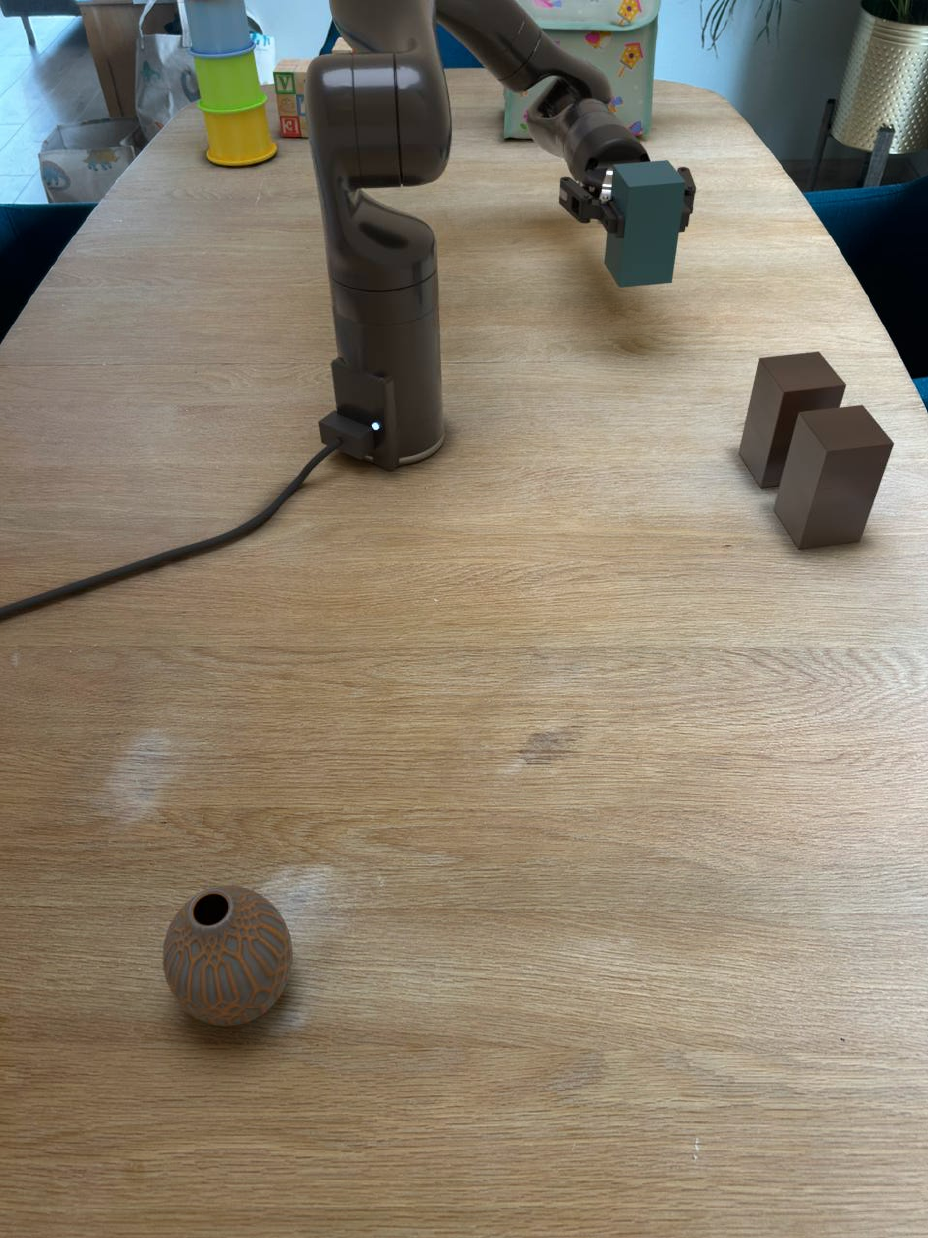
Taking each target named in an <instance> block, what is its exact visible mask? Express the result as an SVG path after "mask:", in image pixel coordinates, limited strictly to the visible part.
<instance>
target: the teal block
mask: <svg viewBox="0 0 928 1238" xmlns="http://www.w3.org/2000/svg"><path fill="white" fill-rule="evenodd" d="M650 161H651V160H650ZM685 184H686V182H685V180H684V179H683V178H682V177H681V176H680V174H679V173H678V172H677V169H676V168H675V167H674V165H672V163H671V162H670V161H669V160H668V159H665V160H652V161H651V162H639V163H627V164H615V165H613V172H612V183H611V195H612V201H615V202H616V204H617V205H618V207H619V208H620V210H621V211H622V212H623V214H624V216H625V227H624V236H623V238H615V236H614V235H613V234H610V233H608V232H607V231H606V240H605V241H606V242H605V254H604V266H605V267H606V269H607V270H608V272H609V274H610V275H611V277H612V279H613V280H614V282H615V284H616V286H617V287H618V288H619V289H623V288H635V287H643V286H644V287H645V286H655V285H664V284H673V277H674V270H675V264H676V256H677V249H678V241H679V235H680V233H679V228H680V220H681V213H682V206H683V199H684V192H685Z"/></svg>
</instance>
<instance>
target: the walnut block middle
mask: <svg viewBox="0 0 928 1238" xmlns="http://www.w3.org/2000/svg"><path fill="white" fill-rule="evenodd" d="M846 388H847V384H846V383H845V381H844V380H843V379H842V378H841V376H840V375H839V374H838V373H837V372H836V370H835V369H834V368H833V366H832V365H831V364H830V362H828V361H827V359H826V358H825V357H824V355H823V354H822V353H821V352H820V351H810V352H809V351H808V352H801V353H800V352H799V353H792V354H783V355H774V356H773V355H772V356H764V357H759V358H758V361H757V365H756V371H755V375H754V380H753V385H752V389H751V394H750V399H749V403H748V408H747V412H746V417H745V420H744V421H745V422H744V425H743V430H742V435H741V439H740V444H739V449H738V454H739V456H740V458H741V459H742V461H743V463H744V464H745V466H746V467H747V468H748V470H749V472H750V473H751V475H752V477H753V478H754V480H755V482H756V483H757V485H758V486H759V488H760V489H763V488H772V487H779V486H780V482H781V479H782V475H783V471H784V467H785V463H786V459H787V456H788V452H789V448H790V444H791V440H792V436H793V433H794V429H795V425H796V421H797V417H798V413H799V412H804V411H813V410H822V409H831V408H839V407H841V404H842V401H843V398H844V395H845V390H846Z"/></svg>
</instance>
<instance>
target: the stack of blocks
mask: <svg viewBox="0 0 928 1238" xmlns="http://www.w3.org/2000/svg"><path fill="white" fill-rule="evenodd" d="M340 53H355V52H354V51H353V50H352V48H351V47H350V46H349V45H348V44H347V43H346V42H345V41H344V39H343V38H342V36H339V37H338V38H337V39H336V41H335V43H334V46H333V47H332V49H331V54H340ZM313 59H314V58H281V59H280V60H279V62H278V63H277V65H276V66H275V68H274V69H273V70H272V78H273V84H274V85H273V86H274V92H275V95H276V105H277V113H278V116H279V117H278V118H279V119H278V120H279V126H280V127H279V128H280V133H281V134H280V135H281V137H289V138H290V137H291V138H293V137H294V138H297V137H299V138H308V131H307V124H306V117H305V103H304V83H305V77H306V72H307V69H308V66H309V65H310V63H311V61H312V60H313Z"/></svg>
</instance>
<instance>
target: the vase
mask: <svg viewBox="0 0 928 1238" xmlns="http://www.w3.org/2000/svg"><path fill="white" fill-rule="evenodd" d="M162 948H163V949H162V968H163V973H164V978H165V980H166V983H167V985H168V988H169V990H170V992H171V994H172V995H173V997H174V999H175V1000H176V1001H177V1003H178V1005H180V1006H181V1008H182V1009H183V1010H184V1011H186V1013H188V1014H189V1015H191V1016H192V1017H194V1018H196V1019H197V1020H199V1021H201V1022H203V1023H207V1024H210V1025H214V1026H219V1027H231V1026H232V1027H233V1026H239V1025H243V1024H246V1023H249V1022H252V1021H254V1020H256V1019H257V1018H259V1017H262V1015H264V1014H265V1013H267V1011H269V1010H270V1009H271V1008H272V1007H273V1006H274V1005H275V1004H276V1003H277V1001H278V1000H279V998H280V997H281V996H282V994H283V992H284V991H285V989H286V986H287V984H288V981H289V979H290V976H291V972H292V966H293V959H294V958H293V956H294V954H293V944H292V939H291V934H290V931H289V928H288V926H287V922H286V920H285V919H284V917H283V915H282V914H281V912H280V911H279V909H278V908H277V907H276V906H275V905H274V904H273V903H272V902H271V901H270V900H268V899H267V898H266V897H264V896H263V895H262V894H260V893H258V892H256V890H252V889H249V888H247V887H242V886H239V885H238V886H237V885H222V886H217V887H212V888H211V887H210V888H207V889H204V890H202V891H200V892H199V893H197V894H196V895H195V896H193V897H192V898H190V899H188V900H187V902H186V903H184V904H183V905H182V907H181V908H179V910H178V911H177V912H176V914H175V915H174V916H173V918H172V920H171V922H170V924H169V926H168V928H167V931H166V934H165V938H164V941H163V947H162Z"/></svg>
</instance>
